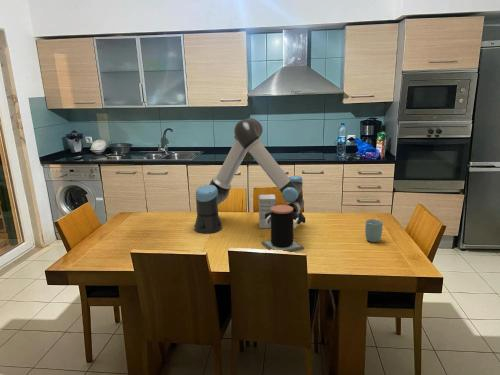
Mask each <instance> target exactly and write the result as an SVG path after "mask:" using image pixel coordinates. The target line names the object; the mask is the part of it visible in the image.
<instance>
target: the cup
mask: <svg viewBox="0 0 500 375" xmlns="http://www.w3.org/2000/svg"><path fill="white" fill-rule="evenodd" d="M383 226H384V222H383V221H382V220H379V219H376V218H375V219H374V218H371V219H367V220H365V229H364V235H365V239H366V240H367V241H369V242H371V243H377V242H379V241H381V239H382V236H383Z"/></svg>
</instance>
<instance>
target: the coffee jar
mask: <svg viewBox="0 0 500 375" xmlns="http://www.w3.org/2000/svg"><path fill="white" fill-rule="evenodd" d="M271 211H272V212H271V228H270V240H271V243H272V244H273V245H274V246H275V247H280V248H285V247H289V246H291V245H292V243H293V240H294V219H293V212H292V211H293V207H291V206H287V204H276V206H273V207H271Z"/></svg>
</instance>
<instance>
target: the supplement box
mask: <svg viewBox="0 0 500 375" xmlns="http://www.w3.org/2000/svg"><path fill="white" fill-rule="evenodd" d="M276 200H277V199H276V195H275V194H258V227H259V229H271V221H270V223H269V224H268V225H266V219H265V214H266V213H269V212H272V211H271V207H273V206H276V205H277V204H276V203H277V201H276Z"/></svg>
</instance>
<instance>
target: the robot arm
mask: <svg viewBox="0 0 500 375" xmlns="http://www.w3.org/2000/svg"><path fill="white" fill-rule="evenodd" d="M233 129H234V132H233V134H234V136H233V137H234V143H233V144H232V146H231V148H230V150H229V152H228V154H227V156H226V158H225V160H224V162H223V164H222V166H221V168H219V169H220V170H219V171H218V172H217V175H216V176H213V177H212V179H211V180H210V183H209V184H205V185H201V186H199V187H198V188H196V191H195V203H196V205H195V206H196V218H195V222H194V231H195V232H197V233H200V234H214V233H216V232H217V233H218V232H220V231H221V230H222V229H223V223H222V221H221V218H220V215H219V205H220V204H221V203H222V202H224V201H225V200H226V199H228V197H229V194H230V190H231V188H232V185H231V183H232V181H233V179H234V177H235V175H236V173H237V172H238V170H239V167H240V166H241V164H242V162H243V160H244V158H245V157H246V155H247V153H248V152H249V154H250V155H251V156H252V157H253V159H254V160H255V161H256V162H257V164H258V165H259V167H261V169H262V170H263V172H264V173H266V175H267V176H268V178H269V179H270V180H271V181H272V183H273V184H274V185H275V186H276V188H277V189H278V190H279V191H280V193H281V197H282V199H283V200H284V201H285V202H287V203H286V205H287V206H291V207H293V211H292V212H293V229H296V228H297V227H298V225H300V224H306V217H305V215H304V214H303V211H301V210H302V209H303V207H304V206H305V200H304V197H303V184H304V183H303V177H302V176H300V175H290V176H288V175H287V174H286V172H285V171H284V170H283V169H282V167H281V166H280V165H279V164H278V163H277V161H276V160H275V159H274V157H273V156H272V155H271V154H270V152H269V151H268V150H267V149H266V147H265V146H264V145H263V143H262V142H261V138H260V137H261V136H262V134H263V130H264V129H263V124H262V123H261V121H260V120H258V119H257V118H254V117H253V118H252V117H248V118H246V119H242V120H240V121H238V122H237V123H236V124H235V126H234V128H233ZM265 219H266V225H268V224H269V223H270V221H271V212H269V213H266V214H265Z"/></svg>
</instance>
